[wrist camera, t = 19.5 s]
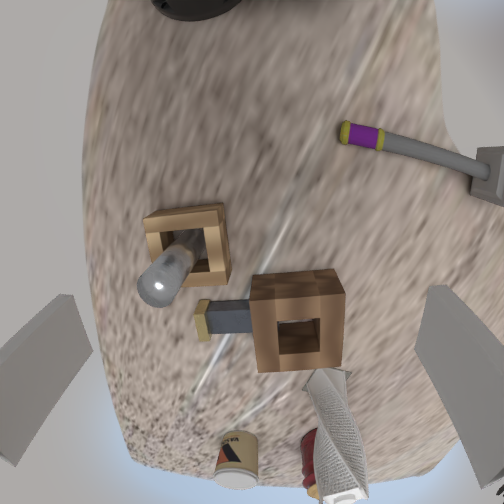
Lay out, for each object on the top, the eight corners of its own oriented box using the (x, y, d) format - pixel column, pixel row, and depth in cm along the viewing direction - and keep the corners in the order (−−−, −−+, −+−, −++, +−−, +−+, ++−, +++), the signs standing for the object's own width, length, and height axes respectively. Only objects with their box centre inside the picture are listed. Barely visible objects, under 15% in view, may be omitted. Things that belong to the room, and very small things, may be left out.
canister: (302, 456, 60) (305, 515, 44) (298, 428, 56) (301, 496, 40) (354, 447, 59) (365, 506, 42) (357, 418, 55) (372, 484, 38)
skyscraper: (294, 387, 52) (301, 522, 26) (314, 356, 50) (334, 502, 23) (333, 395, 53) (354, 522, 26) (354, 367, 50) (390, 500, 24)
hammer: (334, 158, 30) (548, 226, 23) (343, 90, 28) (559, 167, 20) (338, 159, 44) (501, 206, 36) (345, 112, 41) (509, 162, 34)
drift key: (205, 325, 48) (199, 341, 44) (199, 300, 46) (193, 314, 42) (279, 322, 47) (279, 338, 43) (277, 295, 45) (277, 310, 41)
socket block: (260, 340, 49) (258, 372, 41) (252, 274, 45) (249, 301, 37) (332, 335, 47) (341, 366, 40) (333, 268, 44) (345, 293, 36)
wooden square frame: (156, 210, 42) (142, 218, 38) (223, 203, 41) (216, 210, 37) (168, 274, 46) (157, 288, 41) (231, 270, 45) (227, 284, 40)
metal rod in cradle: (178, 228, 43) (132, 272, 28) (204, 226, 43) (169, 269, 28) (183, 254, 44) (142, 307, 29) (208, 252, 44) (178, 307, 29)
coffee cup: (238, 423, 56) (232, 468, 45) (269, 440, 58) (268, 483, 47) (211, 437, 59) (203, 479, 48) (242, 453, 61) (238, 493, 50)
